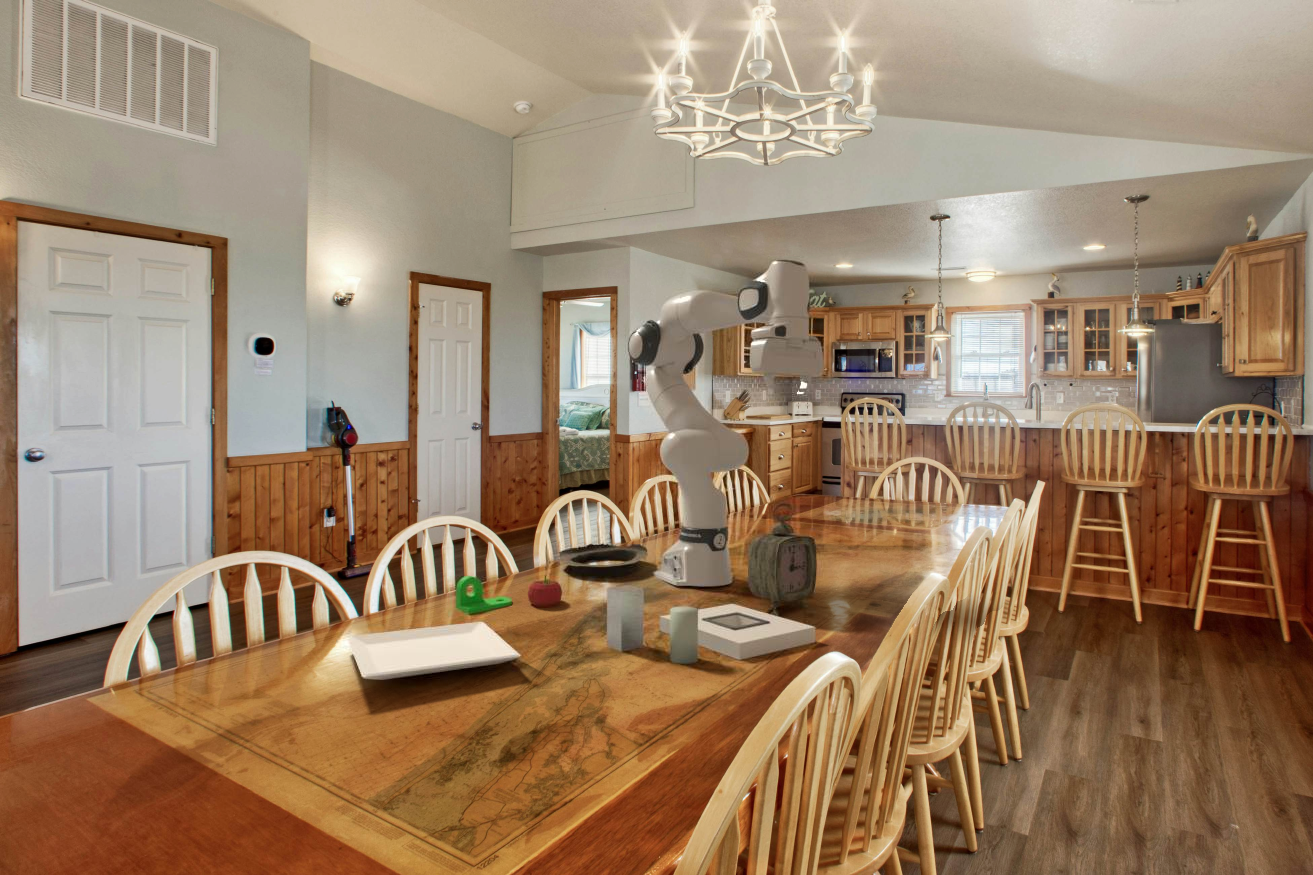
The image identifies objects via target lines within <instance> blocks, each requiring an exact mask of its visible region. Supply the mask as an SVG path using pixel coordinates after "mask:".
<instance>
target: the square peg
mask: <svg viewBox="0 0 1313 875" xmlns="http://www.w3.org/2000/svg"><path fill="white" fill-rule="evenodd" d="M606 591H607V593H606V597H607V598H606V646H608V647H609V648H612V649H613V650H617V651H619V652H621V653H622V652H627V651H632V650H636V649H640V648H641V649H642V648H644V607H645V606H644V600H645V599H644V598H645V596H644V595H645V594H644V593H645V592H644V588H640V587H637V586H633V585H630V584H628V585H627V584H626V585H621V586H612V587H607V588H606Z"/></svg>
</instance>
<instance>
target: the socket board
mask: <svg viewBox="0 0 1313 875" xmlns="http://www.w3.org/2000/svg"><path fill="white" fill-rule="evenodd" d="M659 631H660V632H661V633H664V634H667V635H669V636H670V614H668V615H667V614H666V615H660V616H659ZM813 643H814V644H815V643H816V626H813V625H810V624H806V623H802V622H800V621H796V620H792V619H789V618H785V617H781V616H779V615H778V616H774V615H771V613H770V614H769V613H767V612H764V611H759V610H756V609H752V608H748V607H745V606H742V605H738V604H735V603H730V604H724V605H723V604H722V605H718V606H712V607H708V608H707V607H706V608H700V609H698V646H700V647H703V648H706V649H707V650H711V651H714V652H717V653H719V654H721V655H725V656H727V657H730V658H733V659H735V660H738V661H742V660H745V659H750V658H753V657H758V656H762V655H767V654H770V653H771V654H772V653H776V652H780V651H784V650H788V649H792V648H796V647H800V646H806V645H809V644H813Z"/></svg>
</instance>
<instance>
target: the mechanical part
mask: <svg viewBox="0 0 1313 875" xmlns="http://www.w3.org/2000/svg"><path fill="white" fill-rule="evenodd" d="M470 585H472V591H471V593H469V594H467V588H468V587H469V586H470ZM483 590H484V588H483V583H482V581H481V580H480V578H478V577H476V576H473V575H465V576H463V577H461V578H460V579H459V581H458V582H457V584H456V589H455V591H456V593H455V596H456V597H455V598H456V599H455V600H456V602H455V603H456V604H455V608H456V609H458V610H459V611H461V612H462V613H465V614H467V615H473V614H478V613H481V612H486V611H487V612H488V611H491V610H496V609H500V608H504V607H508V606H510V605H512V603H513V600H512V599H511V598H509V597H506V596H498V597H493V598H485V599H484V598H483V597H484V596H483V594H484V593H483Z"/></svg>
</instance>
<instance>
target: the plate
mask: <svg viewBox="0 0 1313 875" xmlns="http://www.w3.org/2000/svg"><path fill="white" fill-rule="evenodd" d="M346 639H347V641H348V644H349V646H350V649H351V652H352V654H353V657H354V659H355V661H356V664H357V667H358V670H359V673H360V675H361V678H363V679H364V680H365V679H366V680H390V679H397V678H405V677H413V676H418V675H419V676H420V675H425V674H426V675H427V674H433V673H435V674H436V673H441V672H448V671H455V670H461V669H468V668H477V667H483V666H484V667H486V666H492V665H498V664H502V663H506V662H509V661H512V660H516V659H519V658H520V657H521V655H522V654H520V653H519V652H518V651H517V650H515V648H514V647H512V646H511V645H510V644H508V643H507V642H506V641H505V640H504V639H503V638H502V637H501V636H500V635H499V634H498V633H496V631H494V630H493V629H492V628H491V627H489V626H488V624H486V623H485V622H483V621H475V622H465V623H457V624H447V625H440V626H439V625H438V626H429V627H421V628H412V629H403V630H394V631H393V630H392V631H385V632H375V633H374V632H373V633H366V634H365V633H364V634H358V635H355V634H354V635H351V636H348V637H346Z"/></svg>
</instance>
